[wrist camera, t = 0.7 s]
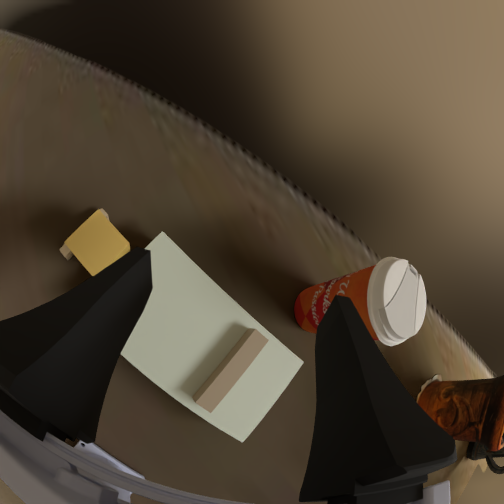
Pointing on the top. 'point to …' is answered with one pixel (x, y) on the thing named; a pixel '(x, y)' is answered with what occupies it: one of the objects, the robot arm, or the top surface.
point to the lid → (206, 346)
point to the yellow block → (97, 243)
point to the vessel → (467, 409)
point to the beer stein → (485, 455)
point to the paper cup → (371, 300)
